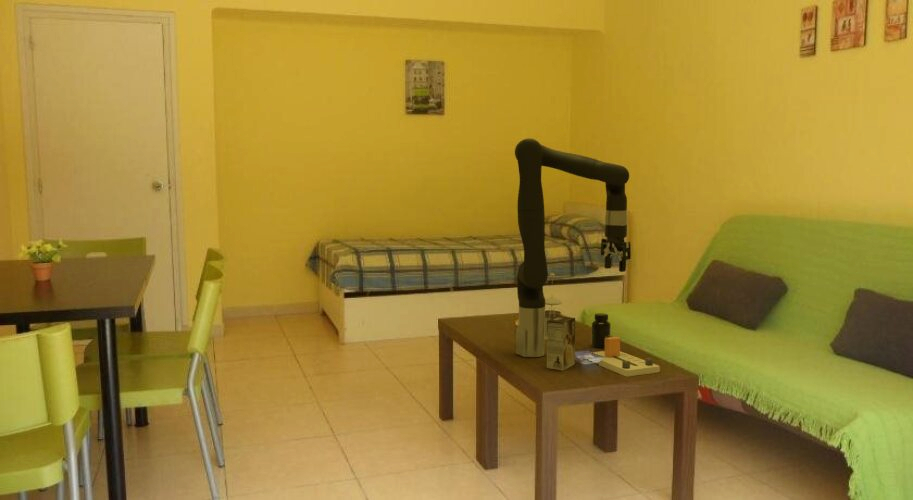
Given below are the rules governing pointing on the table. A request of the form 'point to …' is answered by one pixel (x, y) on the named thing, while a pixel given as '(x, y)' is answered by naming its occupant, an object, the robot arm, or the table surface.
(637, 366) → the console
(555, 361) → the coffee box
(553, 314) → the french press
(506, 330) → the table surface
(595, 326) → the supplement bottle
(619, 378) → the table surface
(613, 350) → the fader cap
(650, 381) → the table surface
